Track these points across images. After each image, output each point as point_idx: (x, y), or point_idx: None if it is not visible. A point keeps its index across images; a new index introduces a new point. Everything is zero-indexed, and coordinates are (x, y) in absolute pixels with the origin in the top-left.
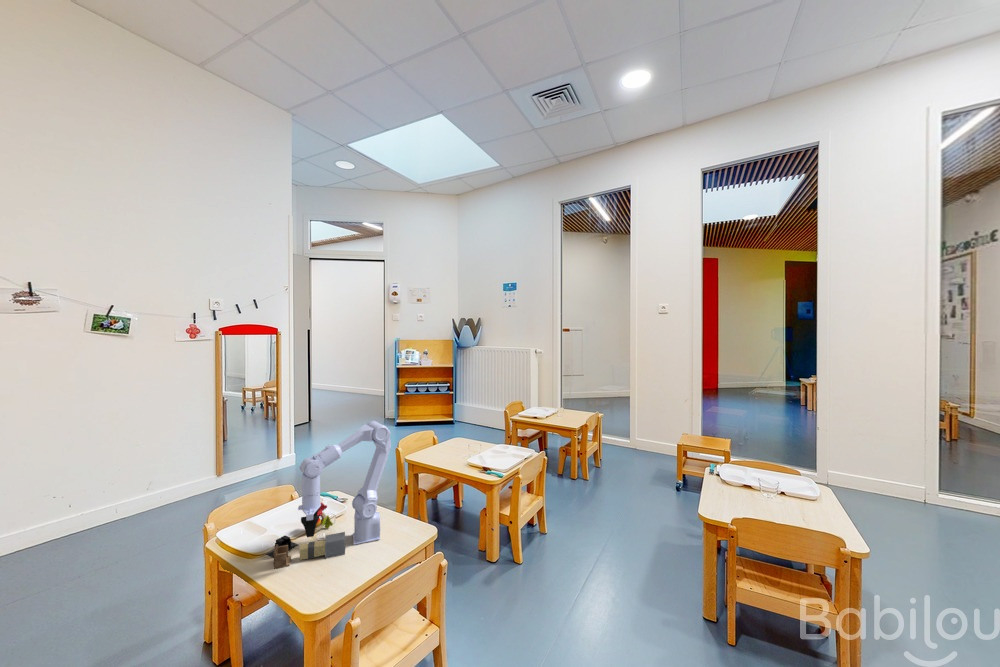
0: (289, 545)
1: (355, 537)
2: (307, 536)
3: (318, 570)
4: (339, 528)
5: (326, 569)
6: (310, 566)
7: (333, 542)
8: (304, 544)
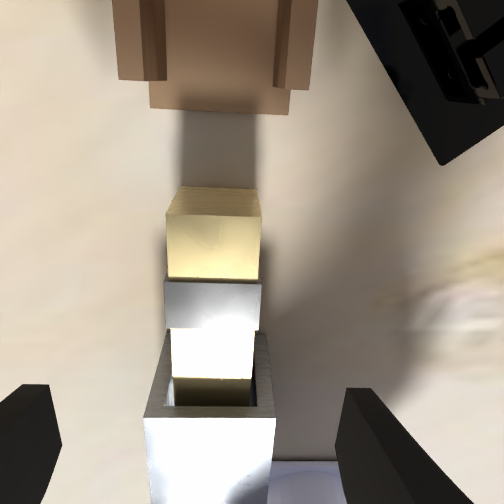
0: (458, 89)
1: (287, 489)
2: (11, 399)
3: (40, 299)
4: (491, 401)
5: (40, 339)
6: (101, 253)
7: (150, 457)
8: (249, 250)
